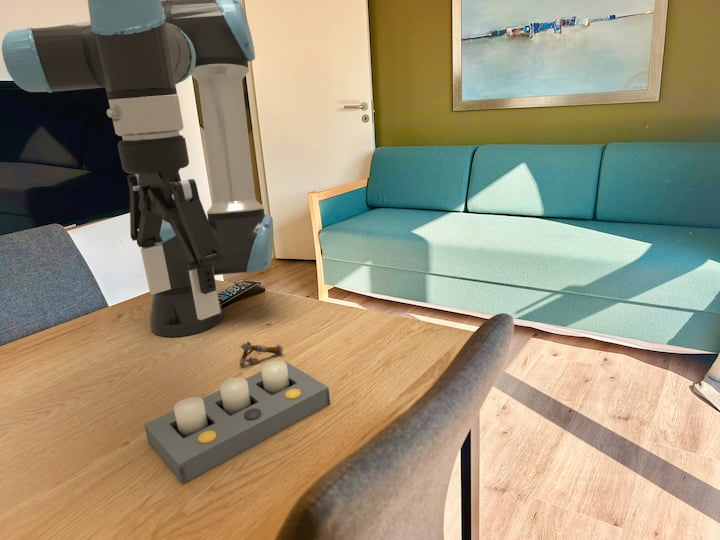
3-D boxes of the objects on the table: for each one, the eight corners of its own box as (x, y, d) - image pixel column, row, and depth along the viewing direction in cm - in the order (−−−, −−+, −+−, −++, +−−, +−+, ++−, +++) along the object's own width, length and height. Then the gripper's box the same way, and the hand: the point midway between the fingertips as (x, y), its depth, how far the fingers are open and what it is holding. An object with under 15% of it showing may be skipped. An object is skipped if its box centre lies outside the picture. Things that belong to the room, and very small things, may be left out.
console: (148, 441, 74) (143, 422, 73) (286, 376, 89) (284, 359, 88) (183, 483, 66) (178, 462, 65) (330, 403, 80) (328, 385, 79)
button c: (259, 388, 82) (256, 367, 81) (280, 378, 84) (277, 357, 83) (272, 398, 79) (269, 376, 78) (294, 387, 82) (291, 366, 80)
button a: (174, 428, 73) (169, 405, 72) (200, 416, 76) (196, 393, 75) (186, 440, 71) (180, 417, 69) (212, 427, 73) (208, 404, 72)
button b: (219, 407, 78) (215, 385, 76) (242, 396, 80) (239, 374, 79) (231, 418, 75) (228, 395, 74) (255, 406, 77) (252, 384, 76)
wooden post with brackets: (233, 363, 93) (240, 339, 93) (273, 366, 98) (279, 343, 97) (237, 367, 92) (243, 343, 91) (277, 369, 96) (283, 346, 96)
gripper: (82, 137, 67) (118, 290, 74) (167, 141, 50) (204, 340, 57) (139, 131, 72) (168, 275, 79) (235, 133, 54) (261, 317, 61)
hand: (183, 303), depth 68 cm, fingers open, 13 cm apart
